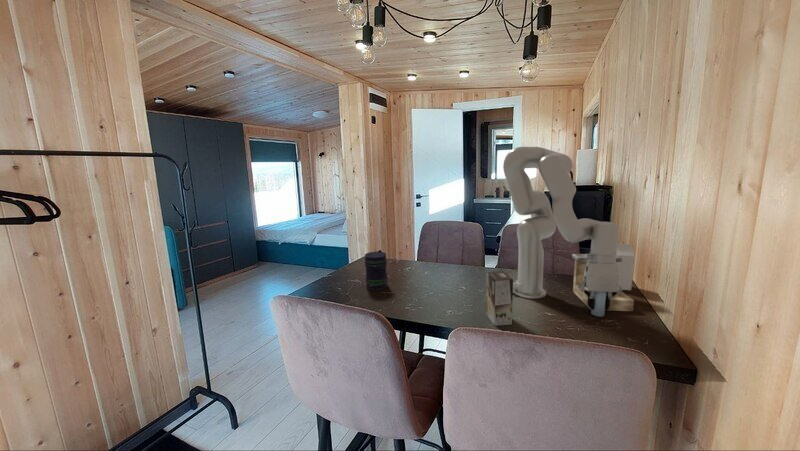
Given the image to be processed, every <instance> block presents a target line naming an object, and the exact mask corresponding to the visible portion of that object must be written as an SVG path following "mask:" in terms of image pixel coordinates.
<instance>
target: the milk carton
mask: <svg viewBox="0 0 800 451" xmlns="http://www.w3.org/2000/svg"><path fill="white" fill-rule="evenodd" d="M616 255H617V256H619V257H621V258H622V262H617V263H618V265H619V274H620V287H621V288H622V291H632V285H633V284H632V283H633V276H634V275H633V274H634V264H635V253H634V250H633V247H632V244H631V243H618V244H617V254H616Z"/></svg>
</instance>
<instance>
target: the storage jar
mask: <svg viewBox="0 0 800 451" xmlns="http://www.w3.org/2000/svg"><path fill="white" fill-rule="evenodd" d="M387 262H388V260H387V253H386V252H383V251H370V252H367V253H365V254H364V266H365V273H366V274H365V283H366V288H367V289H368V290H376V291H377V290H378V291H379V290H383V289H385V288H387V287H388V273H387Z"/></svg>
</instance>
